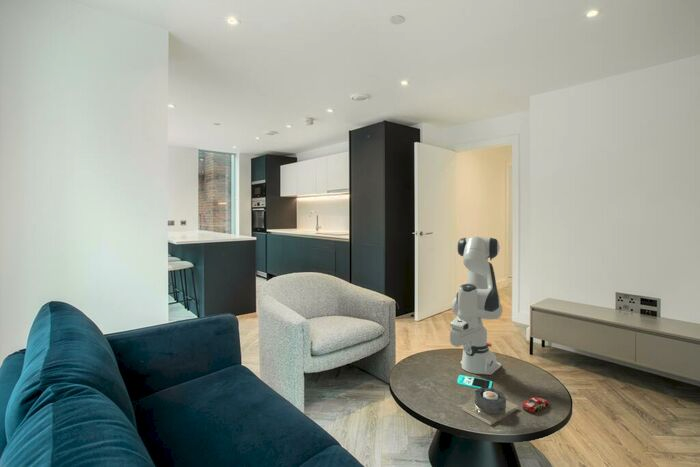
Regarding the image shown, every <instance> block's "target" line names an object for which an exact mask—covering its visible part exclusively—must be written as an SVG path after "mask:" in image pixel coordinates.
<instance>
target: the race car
mask: <svg viewBox="0 0 700 467" xmlns="http://www.w3.org/2000/svg"><path fill="white" fill-rule="evenodd" d="M547 406H548V407H549V402H548V400H546V399H545V398H542V397H534V396H533V397H531V398H529V399H527V400H526V401H524V402H523V403H522V409H523V410H525V411H527V412H530V413H531V414H534V413H535V412H536V413H537V412H539V411H541V410H544V409H545V408H546V407H547ZM548 407H547V408H548ZM547 408H546V409H547Z"/></svg>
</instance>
